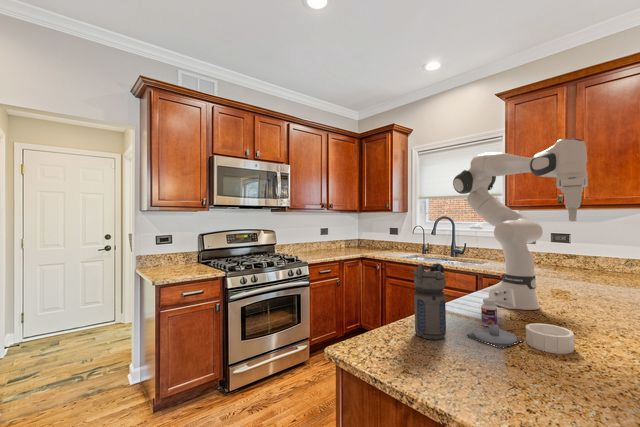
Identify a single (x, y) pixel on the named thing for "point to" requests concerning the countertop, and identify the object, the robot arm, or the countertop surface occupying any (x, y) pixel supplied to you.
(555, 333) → the bowl
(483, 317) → the pill bottle
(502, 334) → the lid
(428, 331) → the beverage bottle
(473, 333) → the mat
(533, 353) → the countertop surface
